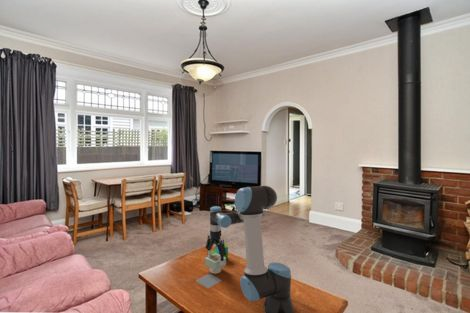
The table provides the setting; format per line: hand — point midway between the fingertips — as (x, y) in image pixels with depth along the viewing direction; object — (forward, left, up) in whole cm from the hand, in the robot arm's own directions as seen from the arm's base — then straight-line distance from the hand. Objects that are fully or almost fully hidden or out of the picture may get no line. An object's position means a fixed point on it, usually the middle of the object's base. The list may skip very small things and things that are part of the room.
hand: (215, 262), depth 168 cm
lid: (0, 0, -2) cm, 2 cm away
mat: (-6, +11, -6) cm, 14 cm away
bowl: (0, 0, -6) cm, 6 cm away
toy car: (+11, -12, -6) cm, 17 cm away
